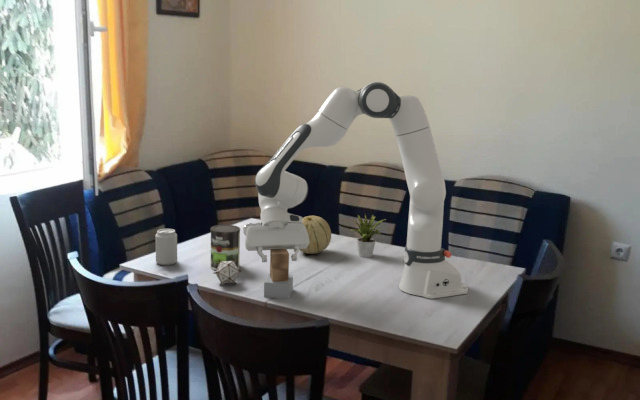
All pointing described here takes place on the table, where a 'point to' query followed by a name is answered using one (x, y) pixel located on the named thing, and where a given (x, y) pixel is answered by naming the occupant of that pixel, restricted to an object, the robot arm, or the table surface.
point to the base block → (278, 288)
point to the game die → (227, 271)
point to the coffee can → (224, 244)
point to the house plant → (366, 236)
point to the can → (166, 247)
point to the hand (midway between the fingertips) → (279, 260)
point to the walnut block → (279, 265)
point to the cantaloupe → (316, 234)
